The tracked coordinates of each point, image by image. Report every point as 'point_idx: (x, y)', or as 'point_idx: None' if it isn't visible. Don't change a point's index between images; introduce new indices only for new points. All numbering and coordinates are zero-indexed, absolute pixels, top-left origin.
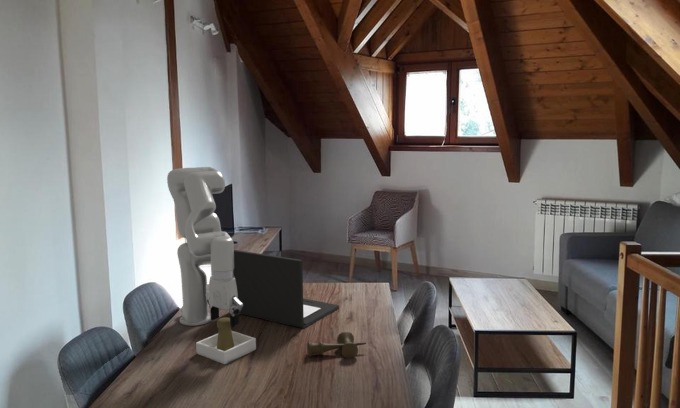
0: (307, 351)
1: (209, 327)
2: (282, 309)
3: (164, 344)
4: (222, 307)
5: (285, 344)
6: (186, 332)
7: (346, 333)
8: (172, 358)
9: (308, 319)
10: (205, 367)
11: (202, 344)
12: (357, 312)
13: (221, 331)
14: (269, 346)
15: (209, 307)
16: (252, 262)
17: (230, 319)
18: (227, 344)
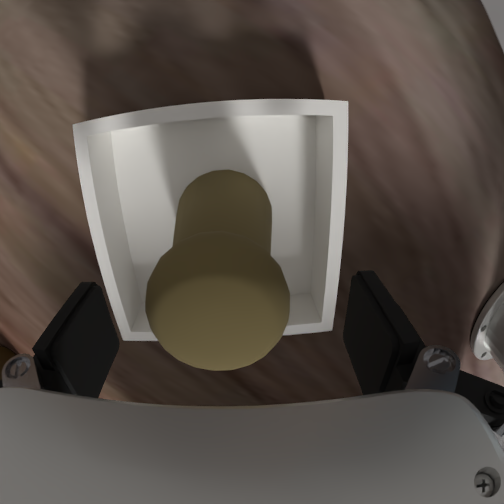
0: (4, 358)
1: (454, 313)
2: None
3: (497, 111)
4: (45, 417)
5: (110, 378)
6: (497, 237)
7: None
8: (375, 11)
9: None
10: (151, 37)
11: (287, 102)
12: None
13: (199, 232)
14: (128, 347)
15: (446, 353)
16: None
17: (58, 324)
18: (177, 216)
